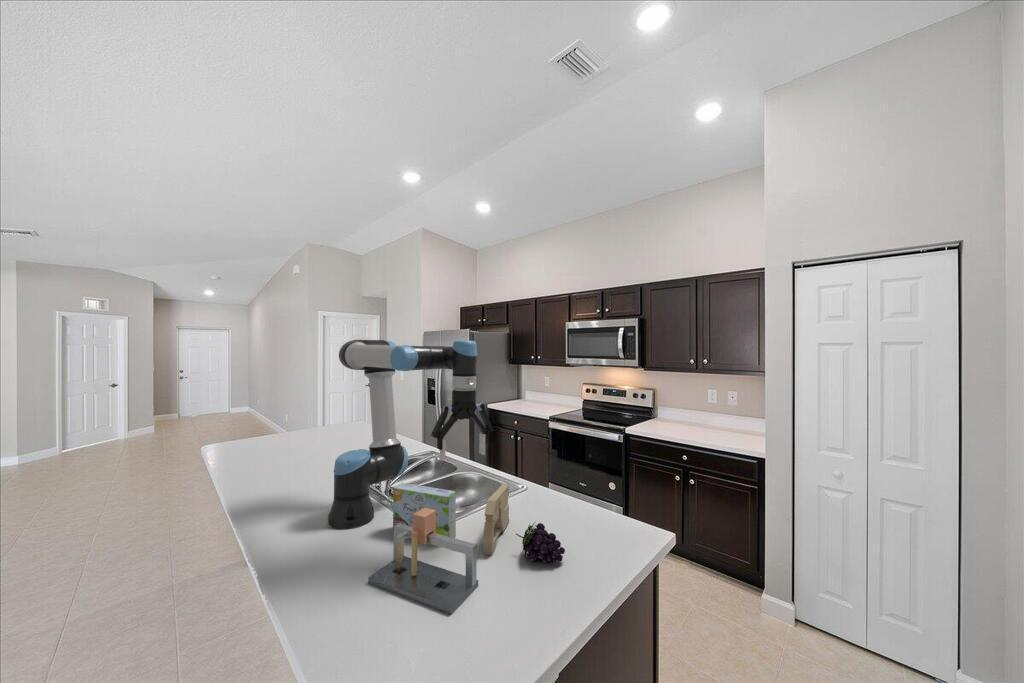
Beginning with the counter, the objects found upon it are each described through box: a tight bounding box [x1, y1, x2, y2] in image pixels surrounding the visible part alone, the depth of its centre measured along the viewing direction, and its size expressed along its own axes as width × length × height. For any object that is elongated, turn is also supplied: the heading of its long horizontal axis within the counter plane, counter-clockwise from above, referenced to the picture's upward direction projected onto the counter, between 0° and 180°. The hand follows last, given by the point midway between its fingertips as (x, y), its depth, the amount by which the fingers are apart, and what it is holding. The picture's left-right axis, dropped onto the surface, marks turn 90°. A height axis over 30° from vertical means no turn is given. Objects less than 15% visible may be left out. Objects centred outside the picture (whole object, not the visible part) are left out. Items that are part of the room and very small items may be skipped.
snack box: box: [392, 482, 457, 538], centre depth 124 cm, size 21×6×15 cm, turn 70°
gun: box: [482, 483, 510, 556], centre depth 123 cm, size 24×3×15 cm, turn 168°
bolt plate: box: [367, 555, 479, 616], centre depth 97 cm, size 26×12×2 cm, turn 64°
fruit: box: [515, 520, 566, 565], centre depth 110 cm, size 10×11×15 cm
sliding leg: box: [411, 508, 436, 576], centre depth 102 cm, size 4×7×15 cm, turn 154°
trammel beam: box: [392, 523, 478, 586], centre depth 99 cm, size 26×6×11 cm, turn 64°
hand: (462, 456), depth 119 cm, fingers open, 13 cm apart
